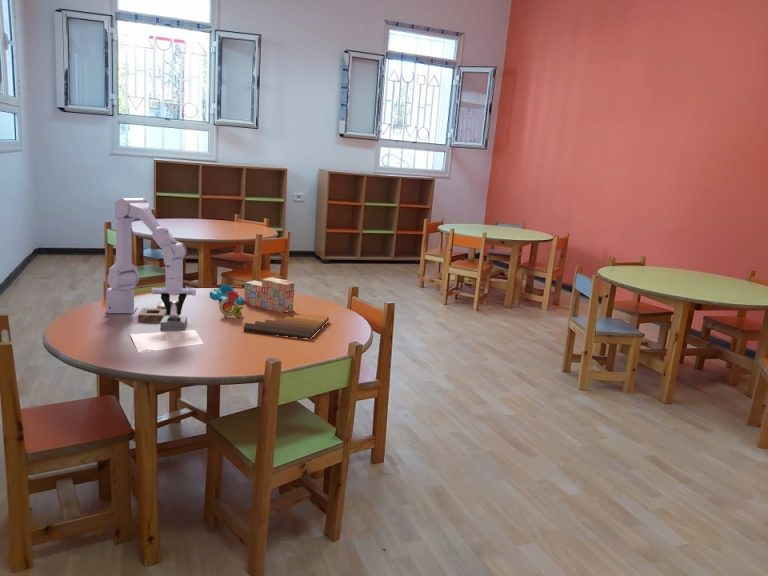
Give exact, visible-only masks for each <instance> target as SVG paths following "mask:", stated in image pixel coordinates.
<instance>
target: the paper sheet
mask: <svg viewBox="0 0 768 576" xmlns="http://www.w3.org/2000/svg"><path fill="white" fill-rule="evenodd" d="M197 332H198V331H196V330H195V329H194V330H193V329H191V330H175V331H173V330H172V331H162V332H160V331H159V332H146V333H145V332H144V333H143V332H141V333H130V336H131V339H132V341H133V344H134V345H135V348H136V350H137V352H138V354H140V352H141V351H143V350H146V349H148V350H155V351H161V350H162V351H163V350H169V349H175V348H183V347H188V346H194V345H203V344H204V342H203V340H202V339H201V337H200V335H199V334H198V333H197ZM141 353H142V352H141Z"/></svg>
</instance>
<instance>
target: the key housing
mask: <svg viewBox="0 0 768 576" xmlns="http://www.w3.org/2000/svg"><path fill="white" fill-rule="evenodd" d="M162 307H163V308H165V305H164V303H163V302H161V301H159V302H158V303H157V305H156V308H157V309H161V308H162Z"/></svg>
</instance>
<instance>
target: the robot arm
mask: <svg viewBox="0 0 768 576" xmlns="http://www.w3.org/2000/svg"><path fill="white" fill-rule="evenodd" d="M114 219H115V263H114V264H113V265H112V266H110V267H109V268H108V274H107V277H106V278H107V283H108V284H107V285H109V287H108V288H107V289H106V293H105V294H106V295H105V302H106V303H105V307H106V309H105V310H106V311H105V313H107V314H134V312H135V311H136V310H137V308H138V307H137V306H135V288H136V285H138V284H139V282H140V281H139V280H140V279H139V278H140V276H139V273H138V267H137V266H136V265H134V264H133V263H132V262H133V261H132V260H133V259H132V254H133V253H132V252H133V251H132V250H133V249H132V248H133V245H132V244H133V243H132V237H133V236H132V230H133V229H132V223H133V221H135V220H137V219H139V220H141V222H142V223H143V224H144V226H146V227H147V228H148V229H149V231H151V233H152V234H151V237H152V239H153V241H154V242H155V243H156V245H157V246H158V247H159V248H160V249H161V256H162V259H163V264H164V265H165V269H164V270H165V283H164V284H165V287H152V288H151V295H154V296H155V295H160V298H161V301H163V303H164V305H165V308H166V311H167V315H168V316H169V301H171V295H173V296H174V295H176V296H177V295H178V297H177V299H178V300H177V301H178V302H179V309H178V315H179V316H182V315H181V314H182V310H183V309H182V308H183V306H184V302H185V301H186V298H187V296H193V297H194V296H196V295H197V294H196V293H197V292H196V291H197V290H196V289H195V288H185V287H184V286H183V285H184V284H183V283H184V282H183V279H184V278H183V276H184V275H183V274H184V273H183V272H184V271H183V270H184V267H183V266H184V265H183V264H184V263H183V262H184V261H183V260H184V259H185V257H186V256H187V253H188V252H187V251H188V250H187V248H186V246H185V244H184V243H183V242H181V241H178V240H177V239H175V238H174V236H173V235H172V234H171V232H170V230H169V229H168V228H166V227H163V226H161V225H160V223H159V222H158V220H157V219H156V217H155V216H154V214H153V212H152V211H151V204H150V203H149V202H148V200H147V199H146V198H145V197H133V198H131V197H127V198H124V197H120V198H118V199H117V200H116V201H114Z"/></svg>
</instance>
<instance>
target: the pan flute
mask: <svg viewBox="0 0 768 576" xmlns="http://www.w3.org/2000/svg"><path fill="white" fill-rule="evenodd" d="M293 315H294V316H293V317H292V316H284V318H279V317H275V318H274V320H272V319H265V321H258V320H255V322H254V323H250V322H245V323H244V325H243V327H242V328H243V332H246V333H254V334H261V335H268V336H274V335H279V336H278V337H281V336H288V337H287V338H289V337H297V338H308V339H310V338H311V337H312V336H313V335H314V334H315V333H316V332H317V331H318V330H319V329H321V328H322V326H323V325H324V324H325V323H326V322H327V321H328V322H329V317H328V316H327V315H326V316H325V315H318V314H310V313H304V312H303V314H302V315H299V314H293ZM322 329H323V328H322ZM322 329H321V330H322Z"/></svg>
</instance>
